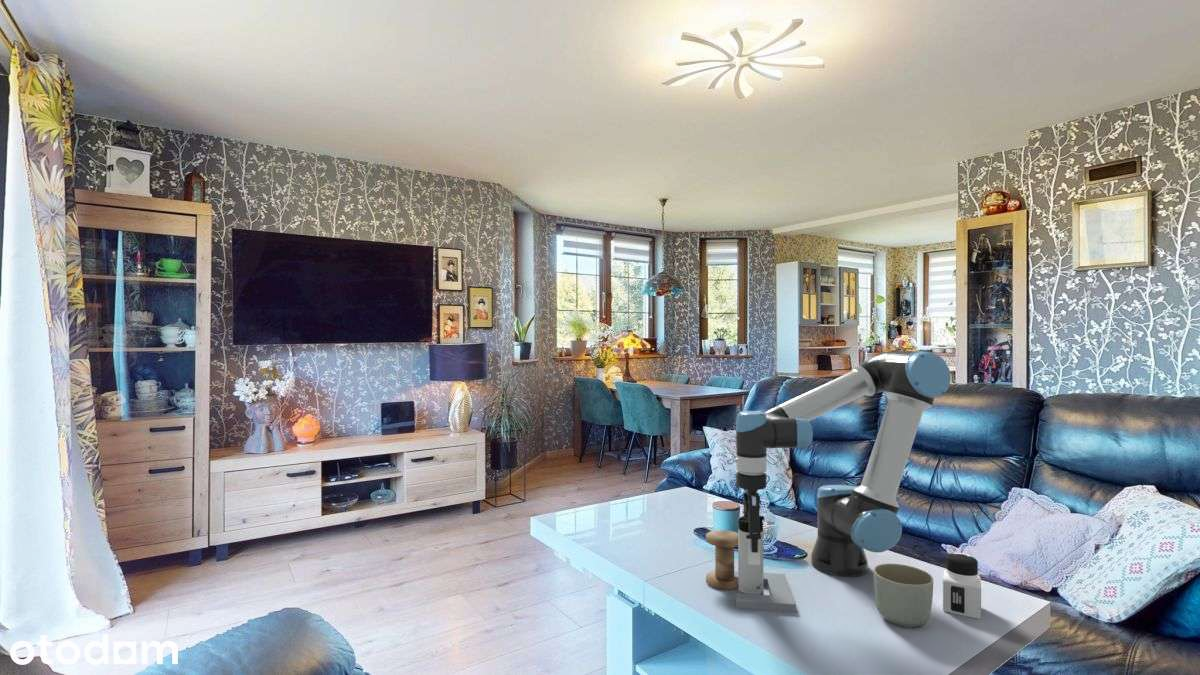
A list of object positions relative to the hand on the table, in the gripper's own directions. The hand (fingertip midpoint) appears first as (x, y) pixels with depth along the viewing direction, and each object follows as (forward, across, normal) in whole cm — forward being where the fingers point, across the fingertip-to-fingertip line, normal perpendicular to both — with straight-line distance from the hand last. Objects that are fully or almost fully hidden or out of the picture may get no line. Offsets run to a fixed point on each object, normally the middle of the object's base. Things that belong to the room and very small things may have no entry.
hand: (751, 554), depth 151 cm
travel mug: (+10, 0, 0) cm, 10 cm away
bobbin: (+10, -6, -6) cm, 14 cm away
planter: (+10, +9, +34) cm, 36 cm away
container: (+10, +1, +50) cm, 51 cm away
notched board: (+10, 0, +2) cm, 11 cm away
